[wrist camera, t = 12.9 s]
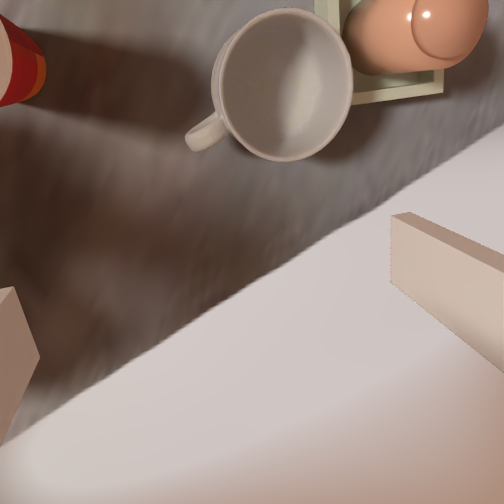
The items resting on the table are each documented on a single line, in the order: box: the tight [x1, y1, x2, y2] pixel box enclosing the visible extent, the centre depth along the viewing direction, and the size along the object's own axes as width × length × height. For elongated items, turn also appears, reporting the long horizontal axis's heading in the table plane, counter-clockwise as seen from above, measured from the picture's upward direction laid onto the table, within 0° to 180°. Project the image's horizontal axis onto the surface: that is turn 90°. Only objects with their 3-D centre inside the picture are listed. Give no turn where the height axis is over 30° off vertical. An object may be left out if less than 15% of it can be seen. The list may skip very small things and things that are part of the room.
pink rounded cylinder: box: [342, 0, 489, 76], centre depth 33 cm, size 7×7×11 cm
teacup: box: [185, 7, 353, 162], centre depth 35 cm, size 14×11×8 cm
